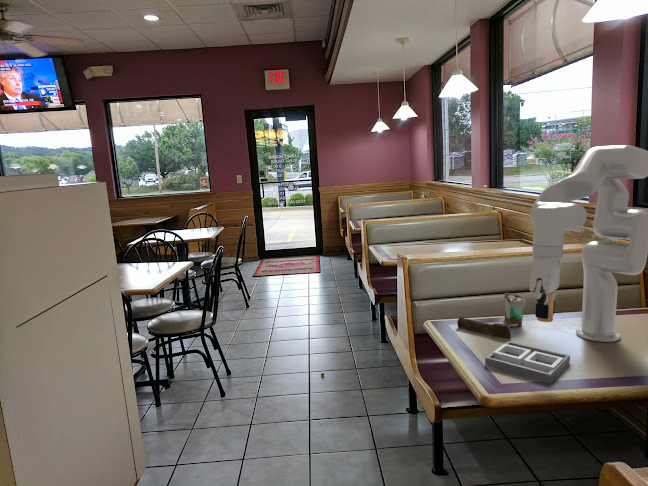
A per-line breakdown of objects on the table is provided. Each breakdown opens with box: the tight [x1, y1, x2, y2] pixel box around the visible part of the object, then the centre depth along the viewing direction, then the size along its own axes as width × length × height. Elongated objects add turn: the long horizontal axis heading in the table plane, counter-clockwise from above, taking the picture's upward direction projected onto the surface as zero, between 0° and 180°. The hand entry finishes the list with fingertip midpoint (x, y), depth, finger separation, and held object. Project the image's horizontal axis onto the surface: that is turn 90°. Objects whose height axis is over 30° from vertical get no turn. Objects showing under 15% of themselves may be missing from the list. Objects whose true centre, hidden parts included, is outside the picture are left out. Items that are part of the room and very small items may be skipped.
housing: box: [484, 340, 571, 384], centre depth 136 cm, size 16×18×3 cm
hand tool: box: [457, 316, 512, 340], centre depth 161 cm, size 19×4×5 cm, turn 41°
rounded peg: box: [536, 291, 555, 323], centre depth 129 cm, size 4×4×8 cm
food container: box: [504, 292, 527, 329], centre depth 168 cm, size 12×6×10 cm, turn 168°
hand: (544, 315), depth 130 cm, fingers closed on rounded peg, 4 cm apart
